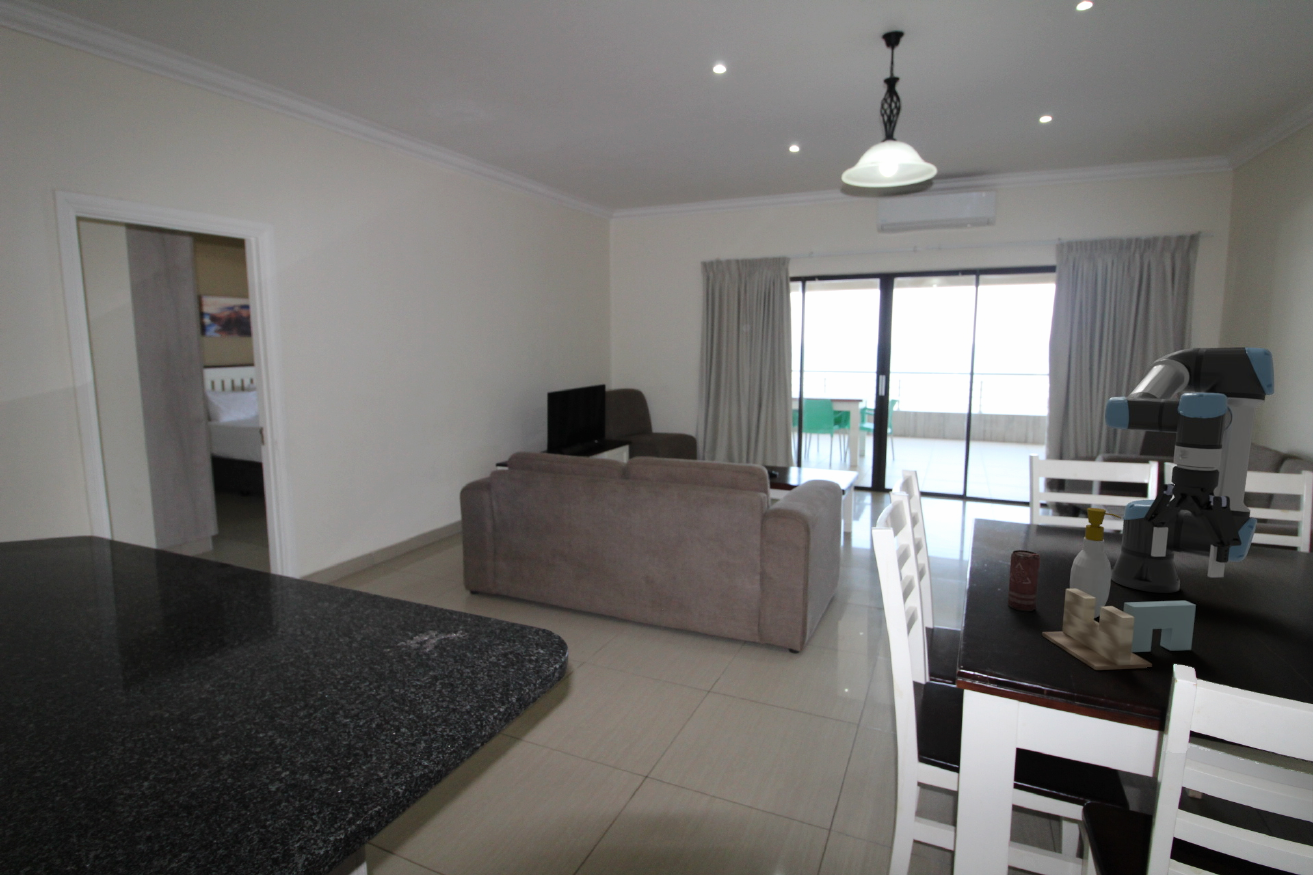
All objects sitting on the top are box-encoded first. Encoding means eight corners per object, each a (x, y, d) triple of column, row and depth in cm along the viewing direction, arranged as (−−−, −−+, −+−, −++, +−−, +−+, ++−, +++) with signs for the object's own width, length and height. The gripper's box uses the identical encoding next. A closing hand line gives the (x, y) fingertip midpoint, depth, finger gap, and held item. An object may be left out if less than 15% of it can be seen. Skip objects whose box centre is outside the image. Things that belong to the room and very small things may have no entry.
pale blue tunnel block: (1180, 644, 140) (1185, 600, 139) (1190, 649, 137) (1195, 604, 136) (1120, 646, 139) (1124, 602, 137) (1129, 652, 136) (1133, 607, 135)
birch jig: (1042, 635, 144) (1045, 589, 143) (1092, 633, 145) (1096, 587, 144) (1095, 669, 129) (1100, 618, 127) (1151, 667, 130) (1156, 616, 128)
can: (1040, 612, 157) (1044, 557, 155) (1012, 610, 158) (1016, 555, 157) (1031, 603, 163) (1035, 550, 161) (1004, 601, 164) (1007, 548, 162)
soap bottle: (1109, 627, 148) (1119, 517, 145) (1063, 617, 154) (1072, 511, 151) (1114, 608, 159) (1124, 506, 156) (1072, 600, 165) (1080, 501, 162)
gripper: (1130, 457, 145) (1122, 548, 148) (1237, 478, 121) (1224, 587, 123) (1161, 457, 146) (1152, 548, 149) (1274, 478, 121) (1261, 586, 124)
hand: (1185, 565), depth 136 cm, fingers open, 13 cm apart
